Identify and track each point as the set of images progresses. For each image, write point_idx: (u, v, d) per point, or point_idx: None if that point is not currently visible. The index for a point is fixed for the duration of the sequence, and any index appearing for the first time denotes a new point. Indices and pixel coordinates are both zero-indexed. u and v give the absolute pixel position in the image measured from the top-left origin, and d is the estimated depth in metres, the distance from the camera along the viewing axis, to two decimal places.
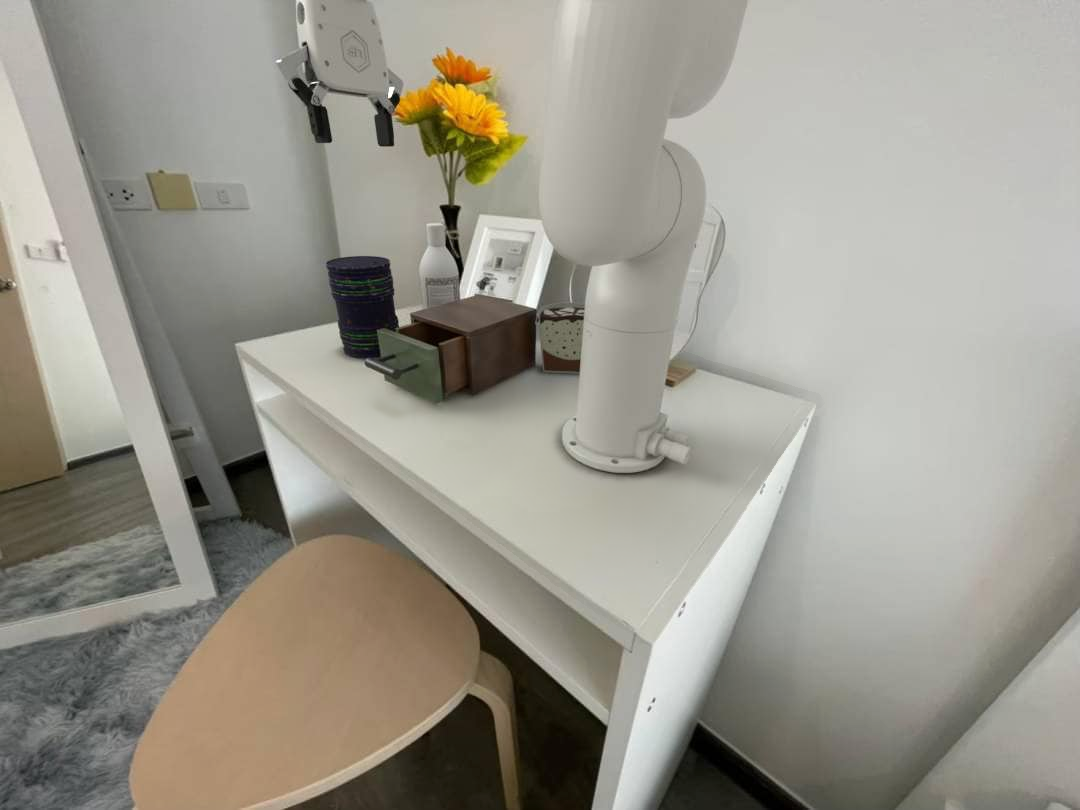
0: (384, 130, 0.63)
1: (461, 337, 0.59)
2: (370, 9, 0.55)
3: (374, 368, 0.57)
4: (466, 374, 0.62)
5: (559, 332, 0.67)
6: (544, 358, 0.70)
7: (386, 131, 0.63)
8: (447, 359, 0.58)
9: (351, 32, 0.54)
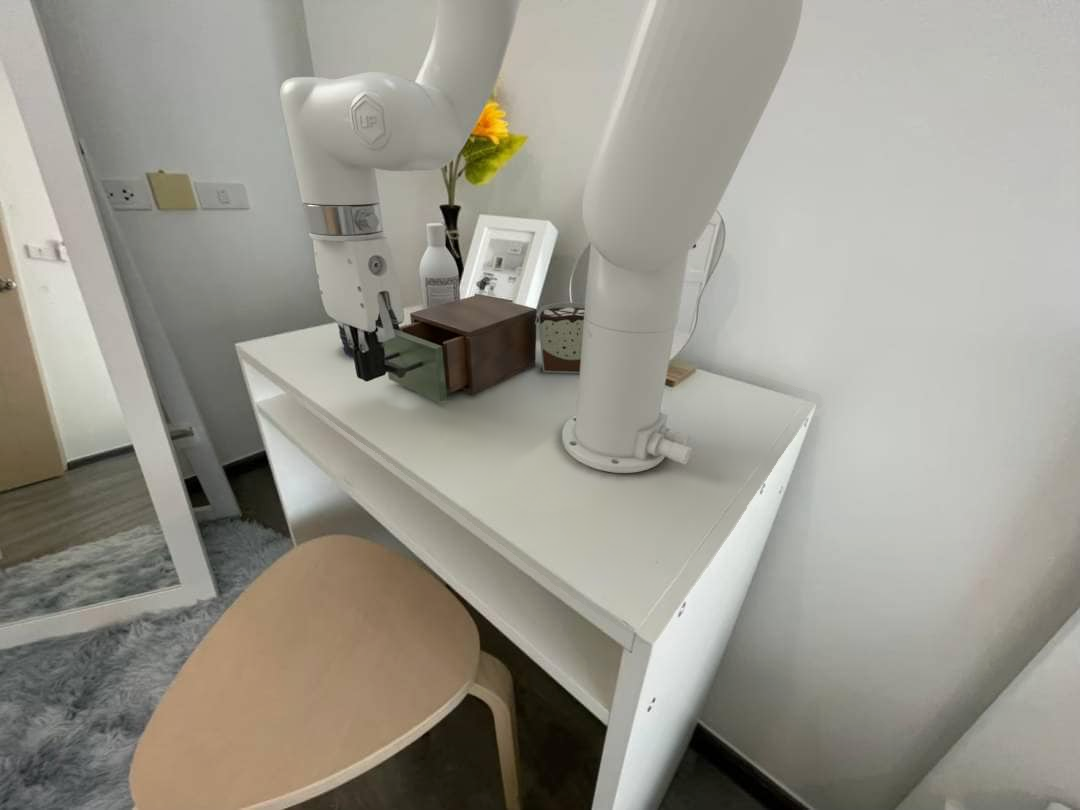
0: None
1: (465, 336, 0.60)
2: None
3: None
4: None
5: (559, 332, 0.67)
6: (544, 358, 0.70)
7: None
8: (451, 357, 0.59)
9: None
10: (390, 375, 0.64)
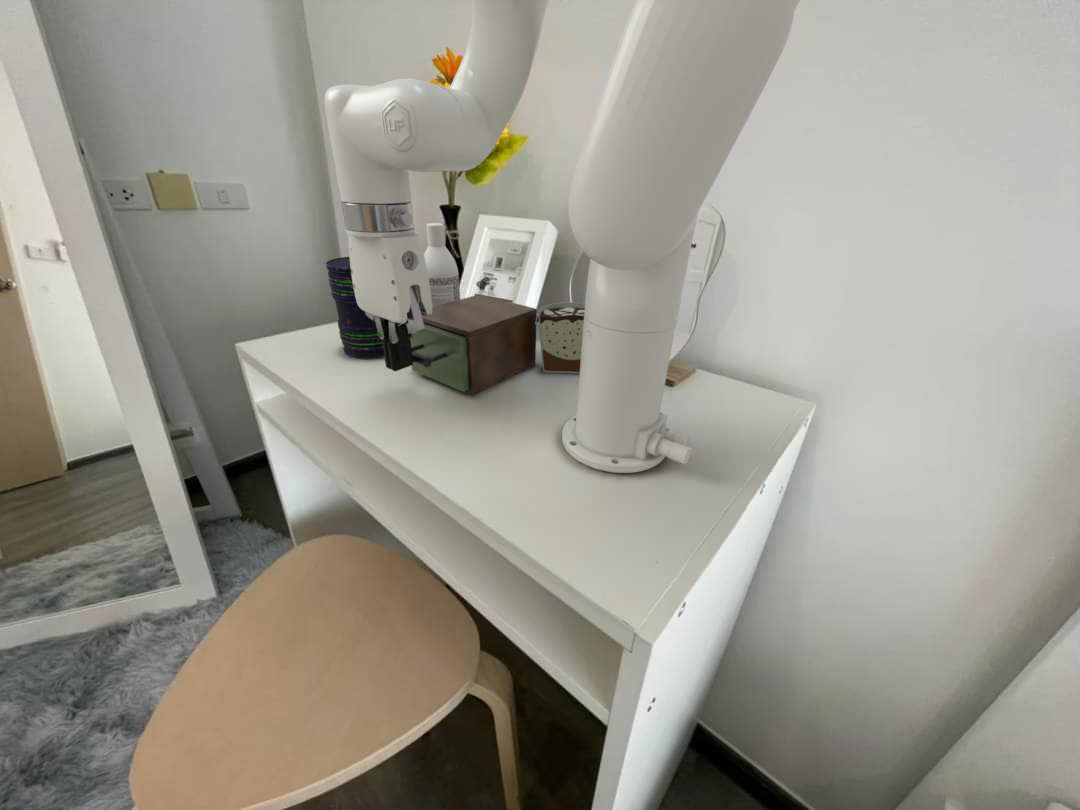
0: None
1: None
2: None
3: None
4: None
5: (559, 332, 0.67)
6: (544, 358, 0.70)
7: None
8: None
9: None
10: (413, 366, 0.67)
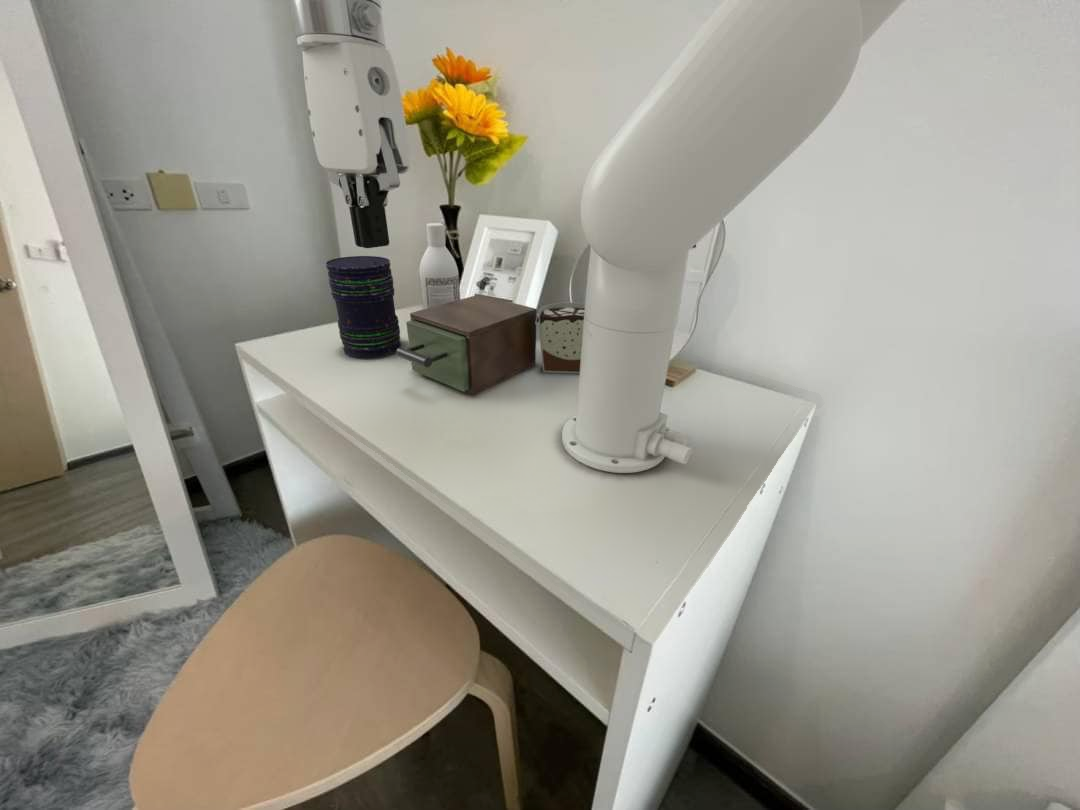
0: None
1: None
2: None
3: (406, 357, 0.60)
4: None
5: (559, 332, 0.67)
6: (544, 358, 0.70)
7: None
8: None
9: None
10: (414, 366, 0.67)
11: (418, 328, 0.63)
